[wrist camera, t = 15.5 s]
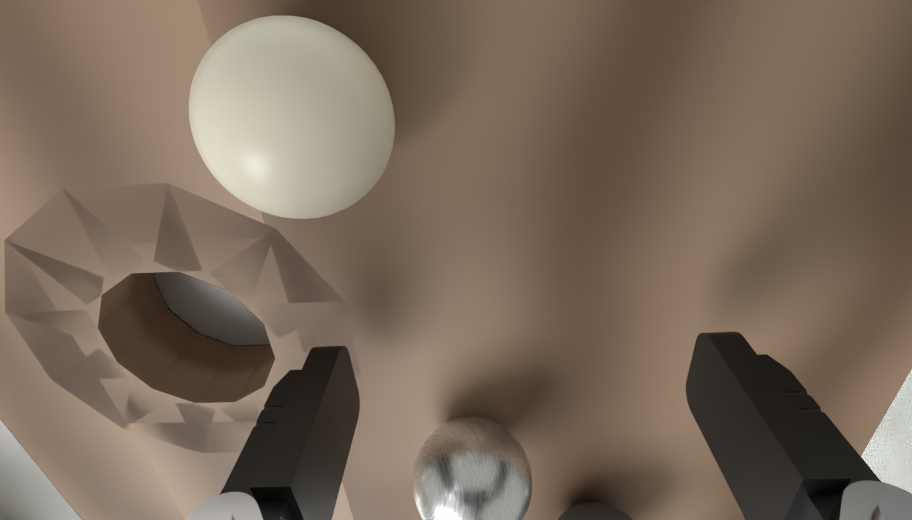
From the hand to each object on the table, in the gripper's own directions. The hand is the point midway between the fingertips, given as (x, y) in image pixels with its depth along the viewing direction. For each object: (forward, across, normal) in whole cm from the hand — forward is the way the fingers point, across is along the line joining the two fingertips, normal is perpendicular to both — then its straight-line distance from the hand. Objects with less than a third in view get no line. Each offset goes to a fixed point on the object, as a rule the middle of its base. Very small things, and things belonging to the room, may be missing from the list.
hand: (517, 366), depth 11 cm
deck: (+4, +3, 0) cm, 5 cm away
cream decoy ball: (0, +4, -6) cm, 7 cm away
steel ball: (0, +1, +4) cm, 4 cm away
